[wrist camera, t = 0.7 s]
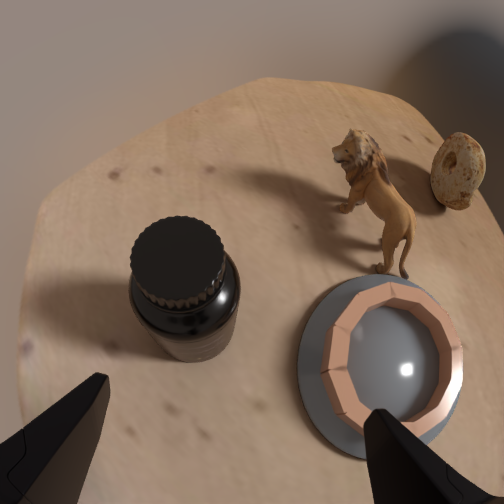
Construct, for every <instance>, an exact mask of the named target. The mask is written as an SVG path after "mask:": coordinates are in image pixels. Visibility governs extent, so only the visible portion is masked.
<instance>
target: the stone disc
mask: <svg viewBox="0 0 504 504" xmlns="http://www.w3.org/2000/svg"><path fill="white" fill-rule="evenodd" d="M485 167H486V166H485V154H484V151H483V149H482V148H481V146H480V145H479V144H478V143H477V142H476V141H475V140H474V139H473V138H471V137H470V136H469V135H467V134H464V133H460V132H456V133H454V134H452V135H451V136H450V137H448V138H447V139H446V140H445V142H444V143H443V144H442V146H441V147H440V148H439V150H438V151H437V153H436V155H435V157H434V159H433V163H432V169H431V178H430V180H431V181H430V182H431V187H432V190H433V192H434V195H435V197H436V199H437V200H438V201H439V202H440V203H442V204H443V205H445V206H447V207H449V208H451V209H454V210H464V209H466V208H468V207H469V206H470V205H471V204H472V201H473V195H474V192H475V190H476V189H477V188H478V187H479V185H480V184H481V182H482V180H483V177H484V174H485Z"/></svg>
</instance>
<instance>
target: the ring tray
mask: <svg viewBox="0 0 504 504" xmlns="http://www.w3.org/2000/svg"><path fill="white" fill-rule="evenodd" d="M461 346H462V344H461V342H460V339H459V337H458V335H457V332H456V330H455V328H454V325H453V323H452V321H451V318H450V316H449V314H447V311H446V310H444V309H443V308H442V307H441V305H440V304H439V303H438V302H437V301H436V300H435V299H434V298H433V297H432V296H431V295H430V294H429V293H427V292H426V291H425V290H424V289H422V288H421V287H419V286H418V285H416V284H414V283H412V282H410V281H408V280H406V279H403V278H399V277H396V276H391V275H383V274H373V275H365V276H361V277H357V278H354V279H352V280H349V281H347V282H345V283H343V284H342V285H340V286H338V287H337V288H335V289H334V290H333V291H332V292H330V293H329V294H328V295H327V296H326V297H325V298H324V299H323V300H322V301H321V302H320V304H319V305H318V306H317V308H316V309H315V310H314V312H313V313H312V315H311V317H310V318H309V320H308V322H307V324H306V326H305V329H304V332H303V334H302V337H301V341H300V345H299V349H298V359H297V378H298V385H299V391H300V394H301V398H302V401H303V404H304V407H305V409H306V411H307V413H308V416H309V417H310V419H311V420H312V422H313V424H314V425H315V427H316V428H317V429H318V431H319V432H320V433H321V434H322V435H323V436H324V437H325V438H326V439H327V440H328V441H329V442H330V443H331V444H333V445H334V446H335V447H337V448H339V449H340V450H342V451H343V452H345V453H348V454H350V455H352V456H355V457H359V458H363V459H366V451H365V441H364V431H363V425H364V422H365V420H366V419H367V418H368V416H369V415H370V414H371V412H372V411H373V410H374V409H378V408H384V409H386V410H387V411H389V412H390V413H391V414H392V415H393V416H394V417H395V418H396V419H397V420H399V421H400V422H401V423H402V424H403V425H404V426H405V427H406V428H407V429H409V430H410V431H411V432H412V433H413V434H414V435H415V436H416V437H418V438H419V439H420V440H421V441H422V442H423V443H424V444H426V445H427V444H428V443H430V442H431V441H432V440H433V439H434V438H435V437H436V436H437V435H438V434H439V433H440V432H441V431H442V429H443V428H444V427H445V425H446V424H447V422H448V421H449V419H450V417H451V415H452V414H453V411H454V409H455V407H456V404H457V402H458V398H459V395H460V391H461V385H462V377H463V359H462V347H461Z"/></svg>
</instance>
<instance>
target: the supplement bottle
mask: <svg viewBox="0 0 504 504" xmlns="http://www.w3.org/2000/svg"><path fill="white" fill-rule="evenodd" d="M130 260H131V263H130V267H131V269H132V273H131V276H130V280H129V299H130V303H131V306H132V309H133V311H134V313H135V315H136V317H137V318H138V320H139V321H140V323H141V324H142V325H143V326H144V328H145V329H146V330H147V331H148V333H149V334H150V335H151V336H152V337H153V339H154V340H155V341H156V342H157V343H158V345H159V346H160V347H161V348H162V349H163V350H164V351H165V352H166V353H167V354H169V355H170V356H172V357H174V358H176V359H178V360H181V361H184V362H194V363H195V362H203V361H206V360H209V359H211V358H213V357H215V356H217V355H218V354H219V353H221V352H222V351H223V350H224V349H225V347H226V346H227V345H228V343H229V342H230V340H231V337H232V335H233V331H234V326H235V322H236V316H237V311H238V305H239V300H240V291H241V286H240V277H239V273H238V270H237V268H236V266H235V264H234V262H233V260H232V259H231V257H230V256H229V255H228V254H227V253H226V252H225V250H224V245H223V244H222V243H221V238H220V237H219V236H218V235H217V234H216V231H215V230H213V229H211V227H210V225H208V224H205V223H204V222H203V221H201V220H197V219H196V218H190V217H188V216H182V217H181V216H175V217H167V218H165V219H160V220H159V221H157V222H154V223H152V224H151V225H150V226H149V227H147V228H145V230H144V232H142V233H141V234H140V235H139V237H138V239H136V241H135V244H134V246H133V247H132V254H131V256H130Z"/></svg>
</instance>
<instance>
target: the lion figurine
mask: <svg viewBox="0 0 504 504" xmlns="http://www.w3.org/2000/svg"><path fill="white" fill-rule="evenodd" d="M332 152H333V154H334V162H335V163H341V167H342V168H343V169H344V170H345V172H346V180H347V181H348V182H349V185H350V186H351V190H350V193H349V197H348V204H346V203H345V204H344V203H342V204H341V205H340V211H341V212H343V213H350V212H352V211H353V210H354V208H355V205H356V203H357V204H360V205H362V204H364V203H365V202H367V204H368V206H369V208H370V209H371V210H372V212H373V213H374V214H375V215H376V216H377V217H378V218H380V219H381V220H383V221H385V227H384V230H383V234H382V250H383V256H384V263H378V265H377V268H376V270H377V272H378V273H379V274H386V273H388V272H389V271H390V269H391V267H392V266H393V264H394V260H393V254H394V250H395V248H397V247H398V245H399V242H400V241H401V240H403V239H406V244H405V246H404V249H403V252H402V255H401V258H400V262H399V269H400V274H401V277H402V278H404V279H406V280H407V279H408V278H409V276H408V274H407V273H406V271H405V269H404V262H405V259H406V257H407V255H408V253H409V250H410V248H411V245H412V242H413V238H414V232H415V229H416V217H415V214H414V211H413V209H412V208H411V207H410V206H409V205H408V204H407V203H406V202H405V201H404V199H403V198H402V197H401V196H400V195H399V193H398V192H397V191H396V189H395V187H394V186H393V184H392V183H391V182H390V180H389V177H388V167H387V163H386V159H385V157H384V155H383V154H382V150H381V149H380V148H379V146H378V144H377V143H376V142H375V141H374V139H373V138H372V137H371V136H370V135H369V134H368V133H365V131H362V130H356V129H354V130H352V129H350V131H349V133H348V135H347V136H346V137H345V140H344V141H343V142H342V144H341V145H339V146H336V147H333V148H332Z"/></svg>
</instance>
